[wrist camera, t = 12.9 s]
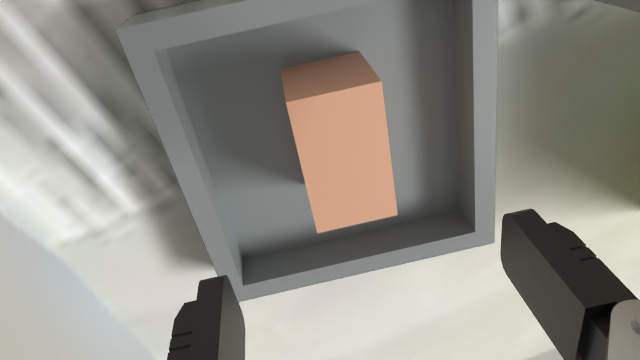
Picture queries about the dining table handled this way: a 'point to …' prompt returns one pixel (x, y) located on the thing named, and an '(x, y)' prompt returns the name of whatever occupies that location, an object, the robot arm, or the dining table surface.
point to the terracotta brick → (341, 140)
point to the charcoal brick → (624, 4)
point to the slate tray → (278, 140)
